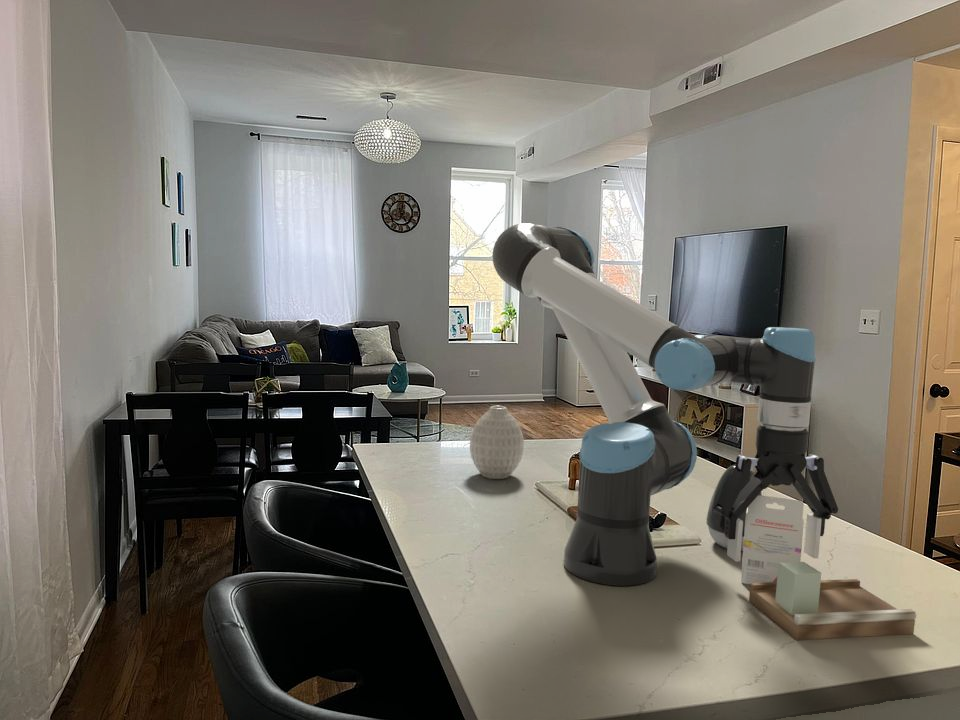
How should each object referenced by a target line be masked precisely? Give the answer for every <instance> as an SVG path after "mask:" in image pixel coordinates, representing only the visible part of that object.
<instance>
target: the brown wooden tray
mask: <svg viewBox="0 0 960 720" xmlns="http://www.w3.org/2000/svg"><path fill="white" fill-rule="evenodd" d="M749 586H750V587H749V598H748V601H749V602H750V603H751V604H752V605H753V606H755V608H757V609H758V610H760V611H761V612H762V613H763V614H765V615H766V616H767V617H768V618H769V619H770V620H772V621H773V622H774V623H776V624H777V625H778V626H779V627H780V628H782V629H783V630H784V631H785V632H786V633H787V634H789V635H790V636H791V637H792V638H794V640H796V641H797V640H798V641H804V640H817V639H818V640H819V639H820V640H822V639H839V638H840V639H841V638H843V639H844V638H856V637H875V636H876V637H877V636H880V637H881V636H893V635H896V636H897V635H899V636H900V635H914V633H915V625H916V624H915V623H916V619H917V613H916V611H915V610H914V609H912V608H903V609H902V608H901V609H898V608H896V607H895V606H893V605H892V604H890V603H888V602H886V601H885V600H884V599H881V598H880V597H878V596H876V595H875V594H873V593H872V592H870V591H868V590H867V589H865V588H864V587H862V586H861V580H859V579H858V578H852V579H851V578H850V579H849V578H848V579H823V580H822V579H821V583H820V594H819V604H818V613H812V614H795V615H791V614H789V613H788V612H787V611H785V610H784V609H783V608H782V607H780V606H779V605H778V604H776V603H775V598H776V587H777V582H764V583H750V585H749Z"/></svg>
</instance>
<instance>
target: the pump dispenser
mask: <svg viewBox="0 0 960 720" xmlns="http://www.w3.org/2000/svg"><path fill="white" fill-rule="evenodd" d="M734 469H735V464H732V465H731V466H729V467H728V468H726V469H725V471H724V472H723V473H722V474H721V476H720V477H719V480H718V481H717V483H716V486H715V488H714V490H713V492H712V495H711V499H710V502H709V506H708V509H707V514H706V515H707V516H706V521H705V522H706V526H708V527H707V528H708V531H709V532H708V533H709V535H710V536H711V538H712V540H713V541H714V542H715V543H716V544H717V545H719V546H721V547H722V548H725V549H727V547H728V538H727V537H725V535H724V527H725V517H724V516H722V515H720V514H719V513H717V512H715V511H714V506H715V504H716V502H717V500H718V499H719V497H720V495H721V493H722V491H723V489H724V487H725V486H726V484H727V482H728V480H729V478H730V476H731V474H732V473H733V471H734ZM754 472H755V471H754V470H752V471H750V473H749V476H748V478H747V480H746V482H745V484H744V486H743V488H744V487H745V485H746V484H747V483H748V482H749V481H750V477H751V476H752V474H753V473H754ZM760 480H762V478H760ZM743 488H742V489H743ZM742 489H741V490H742ZM762 493H763V492H762V491H761V492H760V494H759V495H760V496H763V494H762ZM746 511H747V509H746V510H745V511H744V512H743V513H742V515H741V516H740V517H739V519H741V520H742V521H743V529H742V543H741V552H743V546H744V533H745V520H746Z"/></svg>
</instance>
